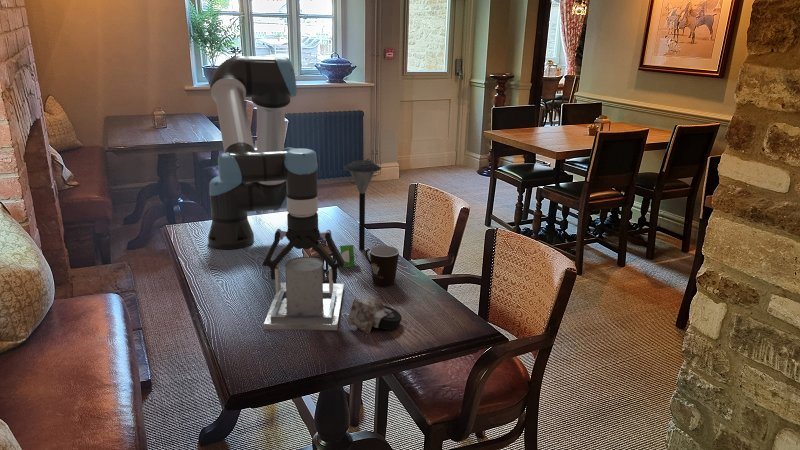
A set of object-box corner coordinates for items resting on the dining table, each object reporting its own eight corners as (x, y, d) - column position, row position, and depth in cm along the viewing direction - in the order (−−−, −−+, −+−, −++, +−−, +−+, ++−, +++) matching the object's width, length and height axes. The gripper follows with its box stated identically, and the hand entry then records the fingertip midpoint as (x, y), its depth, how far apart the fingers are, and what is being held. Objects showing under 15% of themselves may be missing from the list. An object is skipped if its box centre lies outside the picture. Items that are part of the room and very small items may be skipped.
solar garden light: (365, 259, 185) (366, 168, 175) (336, 250, 191) (335, 163, 182) (386, 248, 195) (388, 162, 185) (358, 240, 201) (358, 156, 191)
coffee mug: (402, 286, 166) (403, 254, 163) (374, 290, 163) (374, 257, 160) (389, 271, 176) (390, 241, 173) (362, 274, 173) (363, 243, 170)
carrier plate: (280, 287, 163) (279, 266, 161) (343, 288, 164) (343, 267, 161) (263, 329, 140) (262, 305, 138) (337, 330, 141) (337, 306, 139)
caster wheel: (402, 331, 147) (384, 343, 138) (365, 312, 151) (345, 322, 142) (409, 308, 145) (391, 319, 136) (372, 289, 149) (353, 299, 140)
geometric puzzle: (334, 253, 183) (336, 240, 176) (355, 252, 185) (358, 238, 178) (336, 273, 179) (339, 260, 173) (358, 271, 181) (361, 258, 174)
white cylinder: (303, 319, 142) (301, 274, 138) (278, 307, 148) (276, 263, 144) (331, 307, 149) (330, 263, 145) (306, 295, 155) (305, 253, 151)
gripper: (354, 209, 144) (353, 285, 151) (254, 207, 143) (259, 284, 150) (352, 218, 137) (352, 298, 144) (248, 216, 136) (252, 296, 143)
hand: (304, 291), depth 147 cm, fingers open, 13 cm apart
